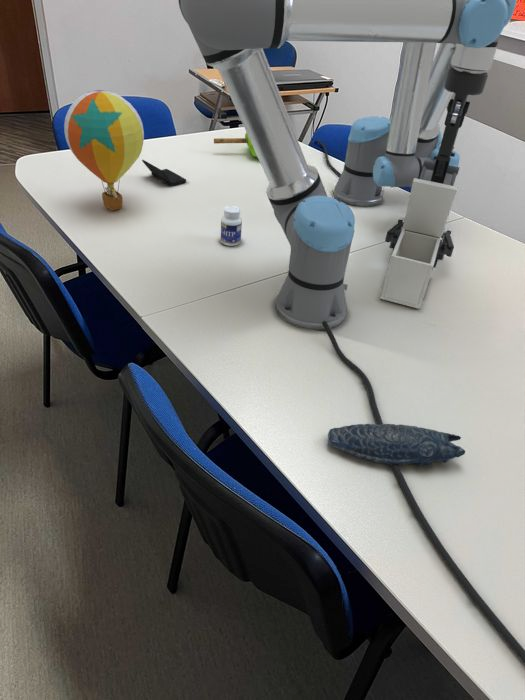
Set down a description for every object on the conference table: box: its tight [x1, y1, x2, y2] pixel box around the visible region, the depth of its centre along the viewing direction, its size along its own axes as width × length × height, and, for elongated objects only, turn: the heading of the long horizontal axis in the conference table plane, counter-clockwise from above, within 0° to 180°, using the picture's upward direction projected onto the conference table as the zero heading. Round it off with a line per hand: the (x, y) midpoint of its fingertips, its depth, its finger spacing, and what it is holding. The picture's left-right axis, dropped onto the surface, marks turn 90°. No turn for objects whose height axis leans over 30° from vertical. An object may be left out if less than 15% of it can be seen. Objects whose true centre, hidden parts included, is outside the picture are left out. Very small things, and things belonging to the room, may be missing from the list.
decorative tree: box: [213, 131, 258, 159], centre depth 186 cm, size 18×10×30 cm
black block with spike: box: [141, 159, 187, 187], centre depth 162 cm, size 12×7×10 cm
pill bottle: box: [220, 205, 243, 247], centre depth 132 cm, size 5×5×9 cm
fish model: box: [327, 423, 466, 466], centre depth 81 cm, size 7×21×5 cm, turn 84°
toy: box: [63, 89, 145, 212], centre depth 136 cm, size 20×20×30 cm
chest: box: [379, 229, 442, 310], centre depth 119 cm, size 16×9×11 cm, turn 159°
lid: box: [403, 161, 460, 239], centre depth 116 cm, size 16×9×8 cm
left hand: (435, 187), depth 115 cm, fingers closed on lid, 2 cm apart
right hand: (414, 257), depth 122 cm, fingers closed on chest, 9 cm apart
